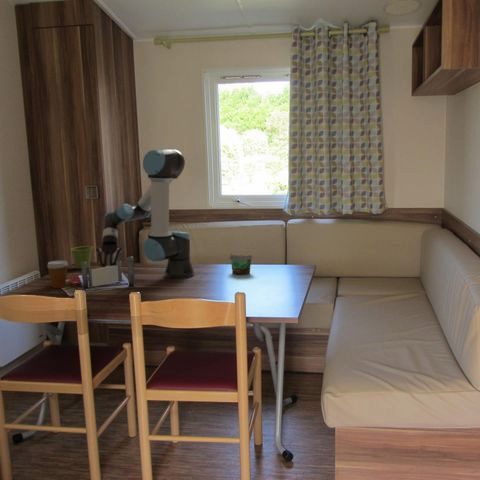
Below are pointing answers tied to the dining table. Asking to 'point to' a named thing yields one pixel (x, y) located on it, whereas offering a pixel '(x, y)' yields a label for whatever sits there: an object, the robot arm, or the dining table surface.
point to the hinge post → (84, 276)
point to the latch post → (131, 272)
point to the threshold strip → (110, 287)
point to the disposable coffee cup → (58, 273)
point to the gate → (105, 275)
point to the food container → (240, 264)
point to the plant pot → (82, 255)
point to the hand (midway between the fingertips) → (107, 278)
